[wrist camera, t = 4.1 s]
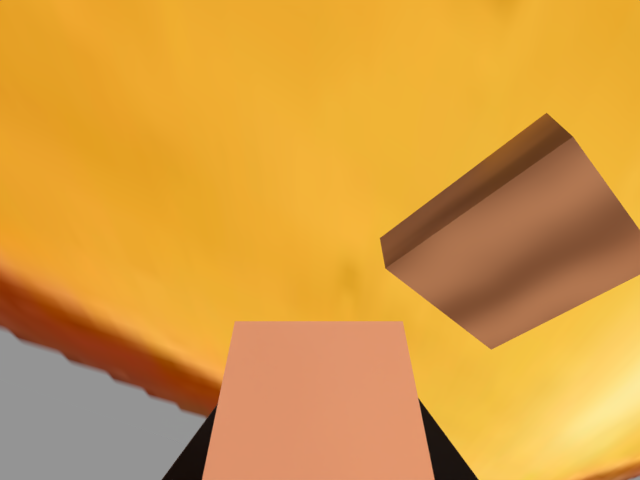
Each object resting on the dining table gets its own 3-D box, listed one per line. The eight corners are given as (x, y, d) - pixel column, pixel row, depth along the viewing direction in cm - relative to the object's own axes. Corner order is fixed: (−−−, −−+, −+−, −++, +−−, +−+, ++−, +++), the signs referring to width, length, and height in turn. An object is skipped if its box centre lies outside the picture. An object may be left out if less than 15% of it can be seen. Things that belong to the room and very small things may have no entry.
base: (379, 238, 23) (385, 268, 21) (546, 112, 19) (573, 136, 17) (479, 318, 27) (491, 349, 26) (634, 232, 23) (663, 262, 21)
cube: (252, 409, 15) (228, 578, 11) (234, 321, 12) (194, 513, 8) (386, 409, 15) (408, 578, 11) (402, 321, 12) (441, 512, 8)
